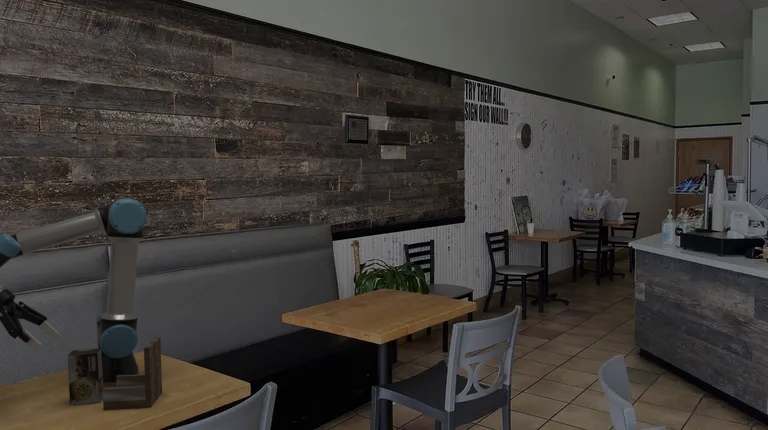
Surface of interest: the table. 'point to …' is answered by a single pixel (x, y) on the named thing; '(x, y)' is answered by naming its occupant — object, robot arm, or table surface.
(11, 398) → the table surface
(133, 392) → the walnut shelf slot
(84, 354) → the coffee box
